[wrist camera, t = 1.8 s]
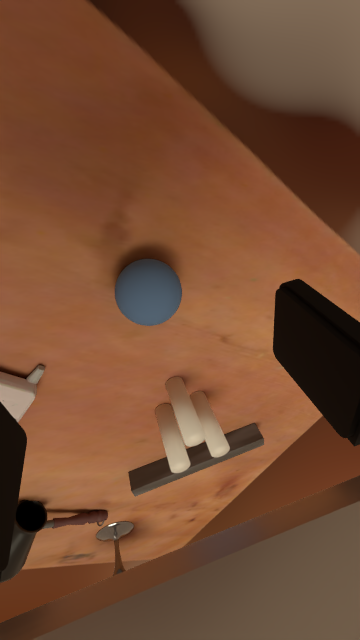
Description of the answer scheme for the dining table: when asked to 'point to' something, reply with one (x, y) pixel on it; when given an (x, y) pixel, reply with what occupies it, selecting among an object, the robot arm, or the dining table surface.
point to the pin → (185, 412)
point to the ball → (148, 292)
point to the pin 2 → (209, 425)
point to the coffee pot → (29, 523)
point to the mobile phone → (19, 391)
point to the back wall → (194, 460)
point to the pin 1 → (172, 439)
